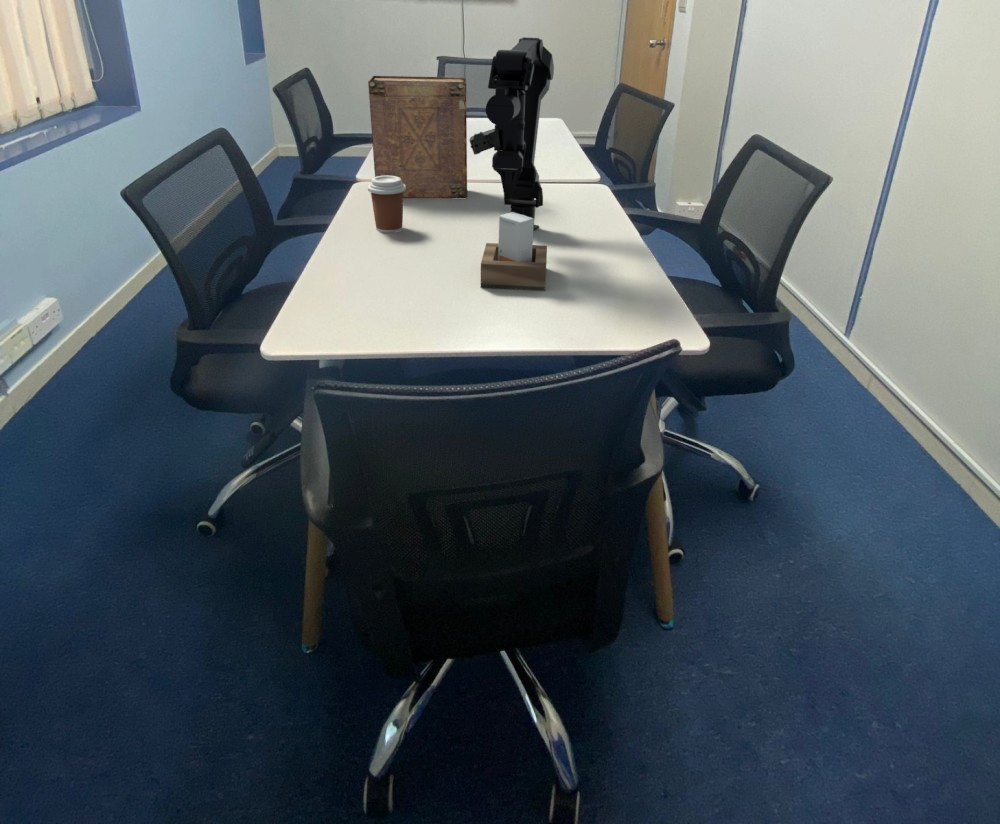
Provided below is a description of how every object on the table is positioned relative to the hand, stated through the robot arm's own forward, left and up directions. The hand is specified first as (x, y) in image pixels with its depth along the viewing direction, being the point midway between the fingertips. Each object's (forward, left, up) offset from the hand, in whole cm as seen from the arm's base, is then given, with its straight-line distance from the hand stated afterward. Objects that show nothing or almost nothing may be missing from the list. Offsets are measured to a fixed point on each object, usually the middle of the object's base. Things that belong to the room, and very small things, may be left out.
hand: (508, 193), depth 158 cm
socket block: (+13, +10, -13) cm, 21 cm away
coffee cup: (+4, -32, -13) cm, 35 cm away
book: (-26, -46, -13) cm, 55 cm away
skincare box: (+13, +10, -12) cm, 21 cm away
